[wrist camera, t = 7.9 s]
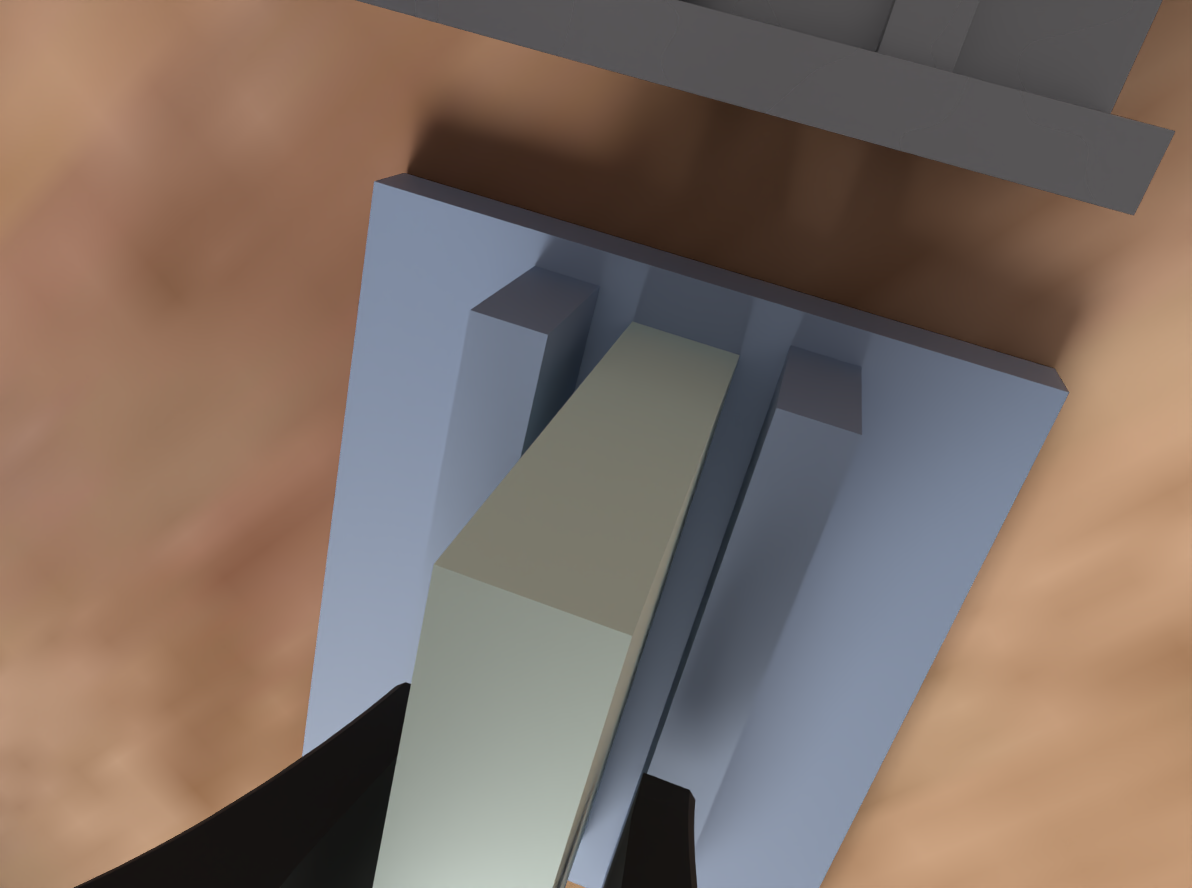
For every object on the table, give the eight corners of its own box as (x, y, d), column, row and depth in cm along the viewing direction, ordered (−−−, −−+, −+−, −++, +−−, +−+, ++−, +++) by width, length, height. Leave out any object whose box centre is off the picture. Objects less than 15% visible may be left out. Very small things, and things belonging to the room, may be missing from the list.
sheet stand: (325, 740, 20) (225, 870, 17) (404, 172, 14) (278, 208, 11) (783, 920, 18) (768, 1099, 15) (1054, 368, 13) (1116, 470, 10)
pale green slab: (502, 808, 18) (308, 1223, 11) (633, 321, 13) (433, 564, 7) (581, 840, 17) (428, 1279, 11) (739, 355, 13) (632, 636, 7)
